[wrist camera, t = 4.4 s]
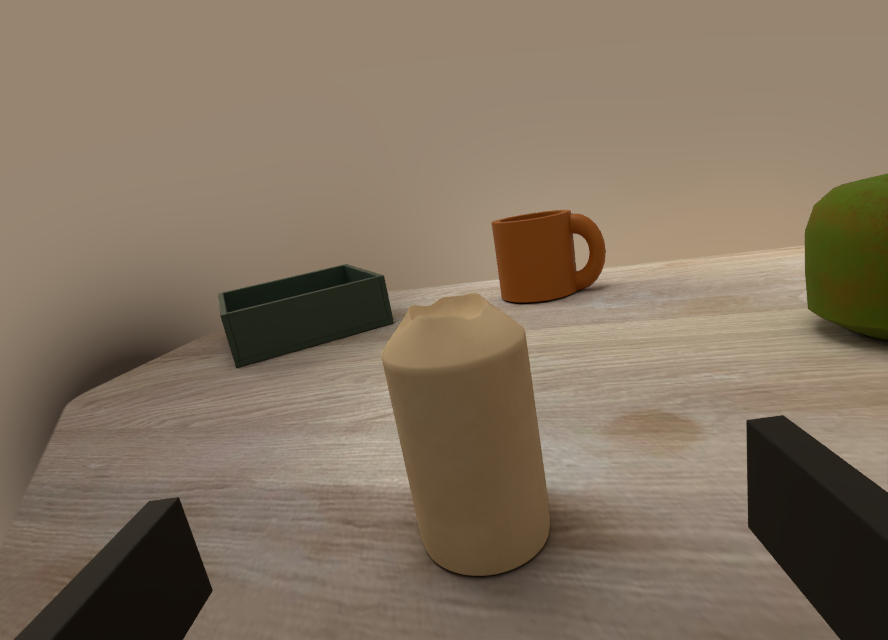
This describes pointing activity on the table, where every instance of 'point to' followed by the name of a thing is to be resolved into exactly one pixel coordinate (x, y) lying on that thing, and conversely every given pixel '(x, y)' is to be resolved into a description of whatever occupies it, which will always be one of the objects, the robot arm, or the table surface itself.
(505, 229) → the mug
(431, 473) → the candle
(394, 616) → the table surface
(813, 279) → the apple
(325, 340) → the bin
